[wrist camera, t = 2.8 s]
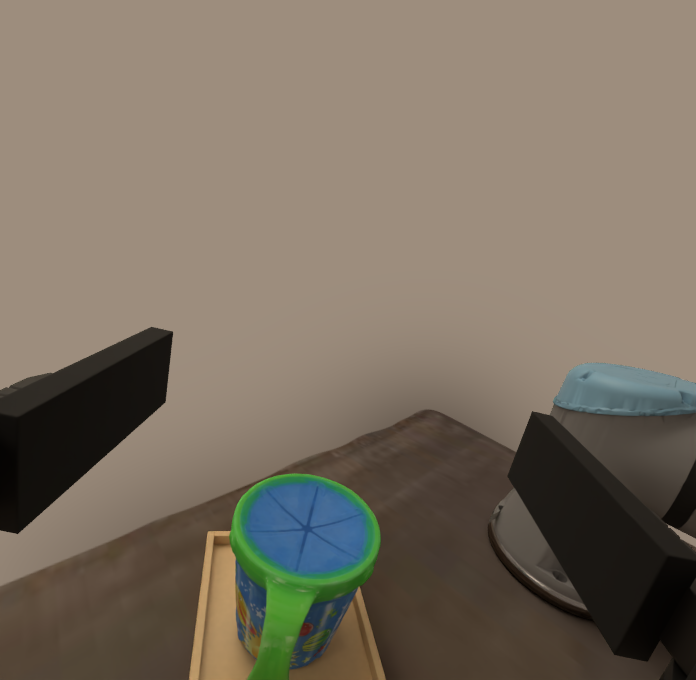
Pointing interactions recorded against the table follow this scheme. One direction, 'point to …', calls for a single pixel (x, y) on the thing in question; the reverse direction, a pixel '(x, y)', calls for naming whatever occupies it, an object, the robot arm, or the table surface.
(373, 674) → the tray
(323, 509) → the snack cup
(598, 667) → the table surface
